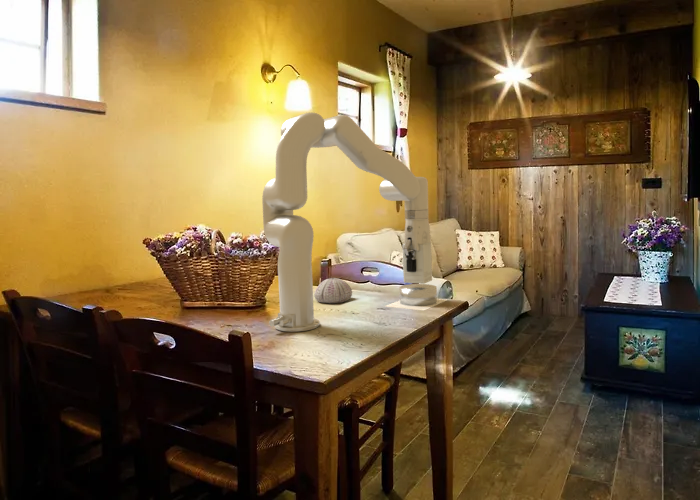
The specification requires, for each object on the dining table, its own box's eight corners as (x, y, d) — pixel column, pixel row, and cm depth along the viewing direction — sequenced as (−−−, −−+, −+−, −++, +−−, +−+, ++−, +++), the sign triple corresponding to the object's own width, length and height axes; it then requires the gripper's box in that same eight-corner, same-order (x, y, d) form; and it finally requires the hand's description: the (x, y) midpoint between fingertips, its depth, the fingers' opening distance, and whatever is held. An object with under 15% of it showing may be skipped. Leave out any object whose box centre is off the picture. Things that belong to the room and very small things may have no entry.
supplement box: (432, 280, 175) (432, 242, 174) (423, 284, 169) (423, 244, 168) (412, 279, 179) (411, 241, 178) (402, 282, 173) (401, 243, 171)
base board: (424, 313, 163) (423, 310, 163) (384, 309, 171) (384, 306, 170) (448, 302, 178) (448, 299, 177) (410, 298, 185) (410, 296, 185)
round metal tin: (426, 307, 167) (426, 291, 166) (393, 304, 173) (392, 288, 173) (442, 300, 176) (442, 285, 176) (410, 297, 183) (410, 283, 183)
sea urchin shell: (342, 306, 178) (341, 282, 177) (306, 303, 184) (305, 280, 183) (358, 298, 190) (358, 276, 189) (325, 296, 196) (324, 274, 195)
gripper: (414, 217, 162) (415, 274, 164) (438, 214, 177) (439, 267, 179) (392, 217, 167) (394, 273, 169) (418, 214, 181) (419, 265, 183)
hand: (417, 269), depth 174 cm, fingers closed on supplement box, 7 cm apart
